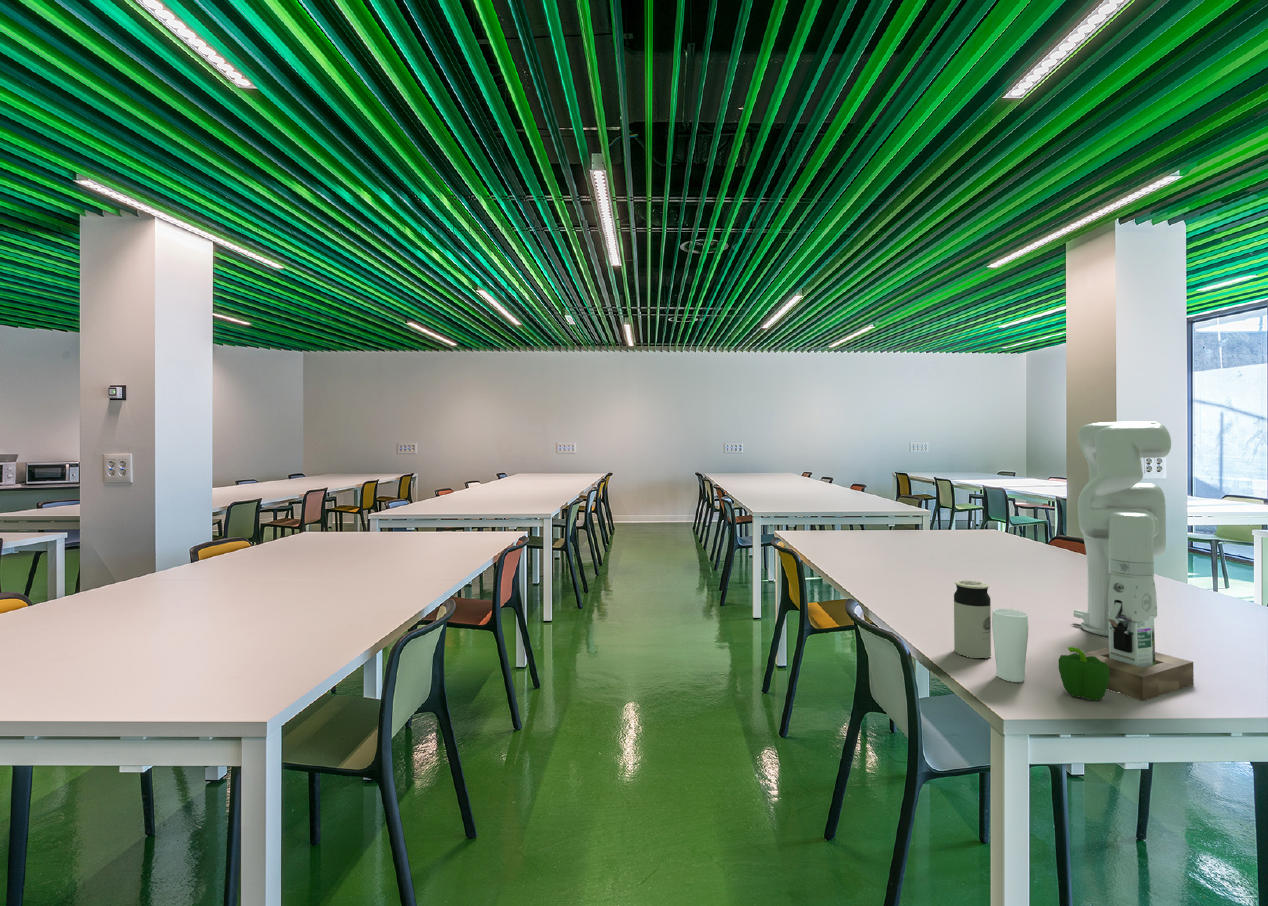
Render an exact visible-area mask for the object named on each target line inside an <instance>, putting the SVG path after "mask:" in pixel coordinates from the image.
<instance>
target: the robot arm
mask: <svg viewBox="0 0 1268 906" xmlns="http://www.w3.org/2000/svg"><path fill="white" fill-rule="evenodd" d="M1077 439H1078V445H1079V448H1080V451H1081V452H1082V454H1083V456H1084V457H1085V460H1086V463H1087V466H1088V482H1087V483H1086V484H1085V486H1084V487H1083V488H1082V490H1081V491H1080V493H1079V495H1078V500H1077V514H1078V515H1077V516H1078V526H1079V531H1080V532H1081V534H1082V535H1083V536H1082V537H1083V543H1084V547H1085V555H1086V565H1087V566H1086V567H1087V569H1086V572H1087V573H1086V574H1087V581H1086V582H1087V611H1084V610H1079V609H1074V611H1073V617H1074V618H1078V619H1082V620H1083V621H1082V622H1081V624H1080V628H1081V629H1083V630H1084V631H1087V632H1088V633H1092V634H1095V635H1100V636H1105V637H1109V627H1108V620H1109V621H1110V623H1111V626H1112V631H1113V643H1114V649H1116V650H1120V651H1124V652H1128V653H1131V652H1132V635H1131V634H1130V630H1131V622H1133V623H1139V622H1143V621H1146V620H1149V617H1150V616H1152V615H1153V616H1154V619H1156V618H1157V616H1158V600H1157V599H1158V598H1157V591H1156V588H1157V587H1156V583H1155V577H1154V576H1155V573H1154V572H1155V566H1154V565H1155V561H1154V559H1155V558H1157V557H1161V556H1162V555H1163V554H1164V553H1165V550H1166V547H1167V546H1166V544H1167V533H1166V532H1167V528H1166V527H1167V524H1166V522H1167V521H1166V520H1167V519H1166V515H1167V514H1166V509H1167V508H1166V499H1165V498H1166V497H1165V493H1164V491H1163V489H1162V488H1161V486H1159V485H1158V484H1154V483H1147V482H1141V481H1142V479H1143V477H1144V473H1143V467H1142V461H1141V459H1142V458H1144V459H1147V458H1152V459H1153V458H1154V459H1155V458H1156V459H1160V458H1165V457H1166V456H1168V455H1169V453H1170V451H1171V448H1172V440H1171V439H1172V438H1171V434H1170V432H1169V430H1168V429H1167V428H1166V426H1165V425H1163V424H1162V423H1160V422H1158V421H1151V420H1149V421H1148V420H1147V421H1140V420H1139V421H1110V422H1109V421H1105V422H1094V423H1087V424H1084V425H1083V426H1081V427H1080V428H1078V431H1077ZM1108 612H1109V614H1110V615H1109V617H1108ZM1120 616H1124V617H1126V618H1127V619H1123V618H1119V617H1120ZM1120 621H1121V622H1125V623H1126V625H1125V626H1124V625H1123V623H1120Z"/></svg>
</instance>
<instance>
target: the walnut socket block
mask: <svg viewBox="0 0 1268 906" xmlns="http://www.w3.org/2000/svg"><path fill="white" fill-rule="evenodd" d="M1084 654H1085V657H1089V656H1095V657H1096V658H1097V659H1099V660H1100V661H1101V662H1103V663H1106V664H1107V665H1108V667H1109V669H1110V679H1109V683H1108V687H1107V689H1109V690H1108V691H1110V690H1112V691H1111V692H1113V691H1115V692H1114V693H1116V692H1120V693H1121V694H1120V693H1119V694H1120V695H1123V694H1124V695H1123V696H1126V697H1129V696H1130V697H1129V698H1132V699H1134V700H1138V701H1142V702H1144V701H1147V700H1150V699H1153V698H1157V697H1160V696H1162V695H1166V694H1169V692H1170V693H1172V692H1174V691H1179V690H1181V689H1184V688H1185V689H1186V688H1187V686H1188V687H1190V686H1189V685H1191V686H1194V684H1195V683H1194V681H1195V680H1194V678H1195V677H1194V661H1191V660H1188V659H1184V658H1179V657H1176V656H1172V655H1169V654H1168V655H1167V654H1163V653H1160V652H1157V651H1155V665H1153V666H1149V667H1146V668H1142V667H1139V666H1135V665H1132V664H1128V663H1125V662H1121V661H1118V660H1114V659H1110V658H1109V646H1107V647H1103V648H1099V649H1096V650H1091V651H1087V652H1084Z"/></svg>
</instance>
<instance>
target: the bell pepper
mask: <svg viewBox="0 0 1268 906" xmlns="http://www.w3.org/2000/svg"><path fill="white" fill-rule="evenodd" d="M1067 649H1068V651H1069V653H1070V654H1067V655H1066V654H1060V656H1059V658H1058V665H1057V666H1058V672H1059V676H1060V679H1061V683H1062V685H1063V688H1064V690H1065V691H1066V693H1067V694H1069V696H1072V697H1077V698H1084V699H1087V700H1090V701H1100V700H1102V698H1103V697H1105V695H1106V692H1107V691H1108V690H1107V687H1108V683H1109V679H1110V669H1109V667H1108V665H1107V664H1106V663H1103V662H1101V661H1100V660H1099V659H1097V658H1096V657H1095V656H1089V657H1085V654H1084V653H1085V652H1084V651H1083V650H1081V649H1080V648H1078V647H1074V646H1069V647H1067ZM1075 652H1076V653H1075Z"/></svg>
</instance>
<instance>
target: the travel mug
mask: <svg viewBox="0 0 1268 906" xmlns="http://www.w3.org/2000/svg"><path fill="white" fill-rule="evenodd" d="M954 584H955V585H956V590H955V592H954V594H953V626H954V627H953V628H954V629H953V632H954V633H953V634H954V635H953V640H954V641H953V642H954V643H953V645H954V646H953V647H954V648H953V650H954V652H955V653H957V654H958V655H959V656H961V655H963V656H962V657H964V656H968V657H972V658H971V659H974V658H985V659H989V658H991V657H990V656H992V641H991V640H992V639H991V638H992V634H991V632H992V624H991V623H992V621H991V618H992V617H991V615H992V614H991V613H992V612H991V611H992V610H991V608H992V607H991V596H990V595H989V593H988V589H989V588H990V585H989V584H988V583H986V582H983V581H977V580H968V579H966V580H965V579H964V580H963V579H962V580H956V581H954ZM968 657H967V658H968Z"/></svg>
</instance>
